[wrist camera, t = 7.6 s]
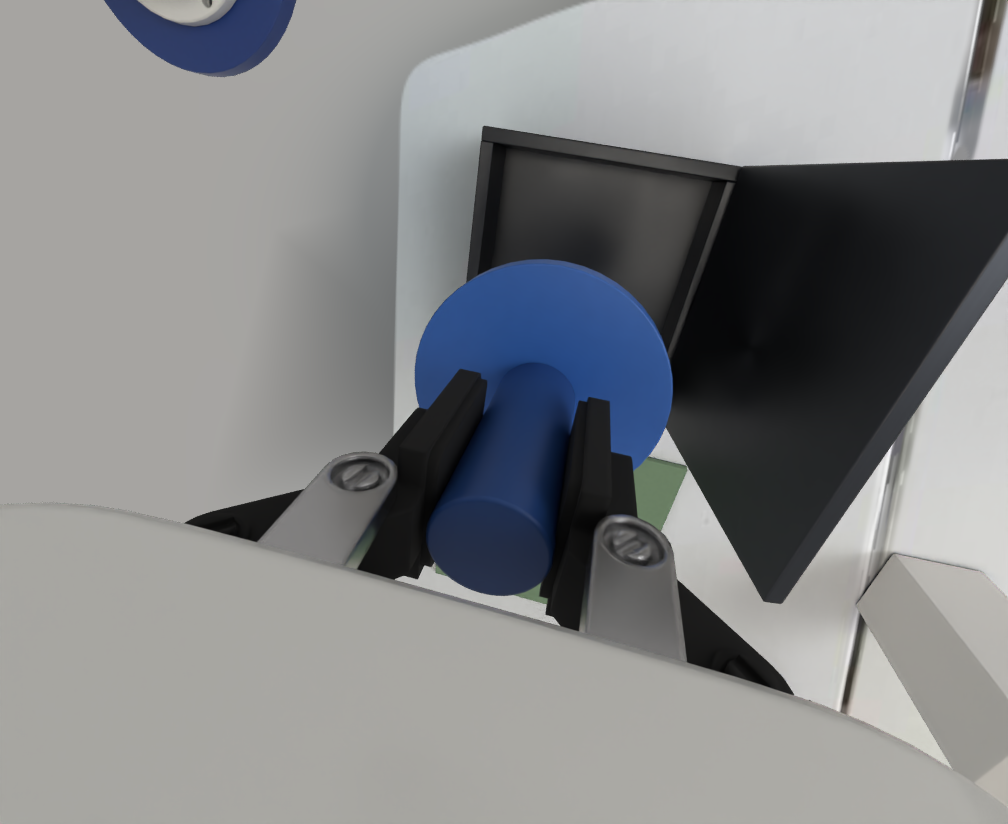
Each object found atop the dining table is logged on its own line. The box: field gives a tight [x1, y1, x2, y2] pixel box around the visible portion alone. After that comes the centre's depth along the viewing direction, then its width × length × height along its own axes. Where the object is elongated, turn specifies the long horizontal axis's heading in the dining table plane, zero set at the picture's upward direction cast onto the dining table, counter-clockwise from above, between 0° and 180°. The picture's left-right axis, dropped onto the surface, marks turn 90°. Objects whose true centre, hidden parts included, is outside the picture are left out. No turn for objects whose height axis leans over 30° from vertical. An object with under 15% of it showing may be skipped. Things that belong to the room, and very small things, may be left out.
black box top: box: [666, 159, 1008, 604], centre depth 21 cm, size 16×16×1 cm
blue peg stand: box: [415, 259, 673, 596], centre depth 11 cm, size 8×8×7 cm
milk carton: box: [856, 554, 1008, 807], centre depth 32 cm, size 7×7×19 cm
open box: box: [466, 126, 742, 366], centre depth 32 cm, size 16×16×5 cm
